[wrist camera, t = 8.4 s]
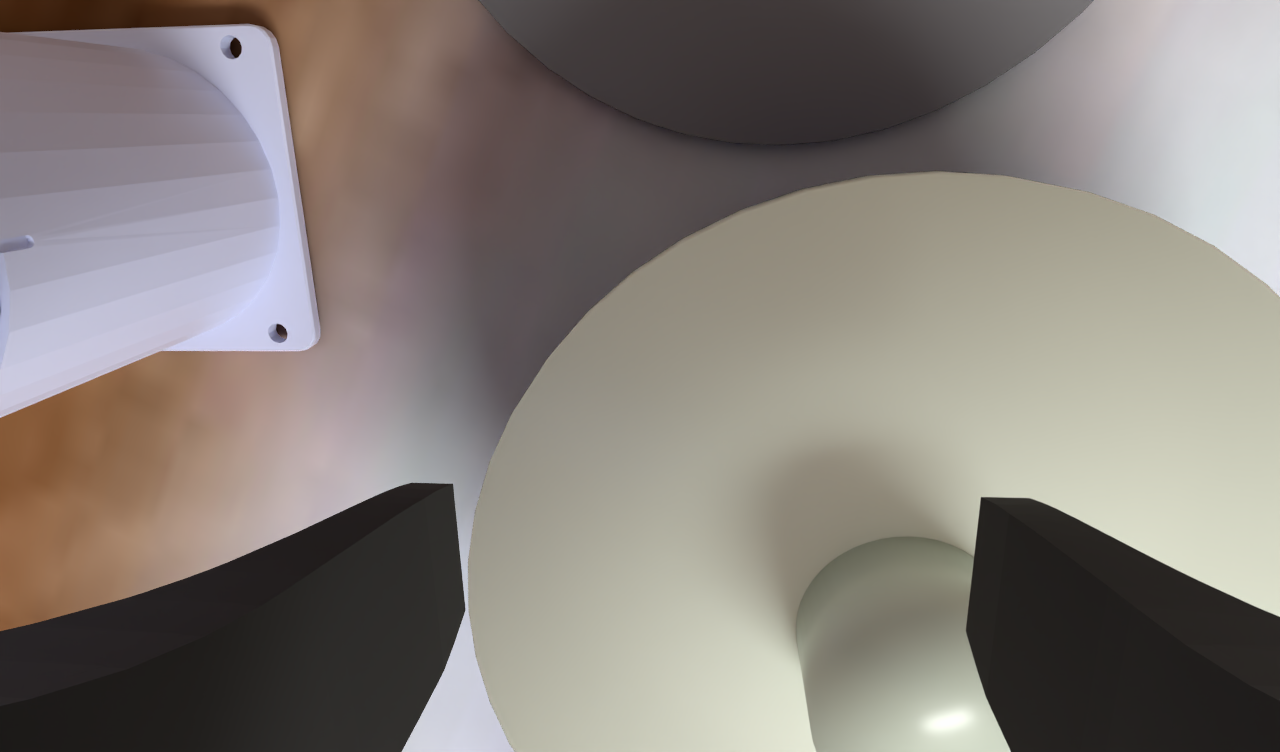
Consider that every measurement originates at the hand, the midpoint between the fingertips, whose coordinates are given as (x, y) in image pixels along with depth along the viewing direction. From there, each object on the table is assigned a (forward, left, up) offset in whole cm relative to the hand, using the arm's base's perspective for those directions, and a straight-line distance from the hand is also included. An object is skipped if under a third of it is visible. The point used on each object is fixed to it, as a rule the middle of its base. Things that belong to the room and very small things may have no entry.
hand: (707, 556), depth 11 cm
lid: (+4, -4, -5) cm, 7 cm away
